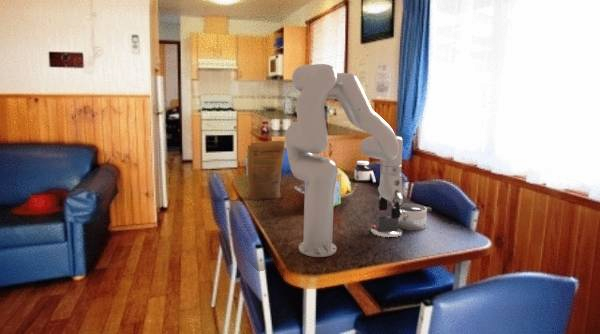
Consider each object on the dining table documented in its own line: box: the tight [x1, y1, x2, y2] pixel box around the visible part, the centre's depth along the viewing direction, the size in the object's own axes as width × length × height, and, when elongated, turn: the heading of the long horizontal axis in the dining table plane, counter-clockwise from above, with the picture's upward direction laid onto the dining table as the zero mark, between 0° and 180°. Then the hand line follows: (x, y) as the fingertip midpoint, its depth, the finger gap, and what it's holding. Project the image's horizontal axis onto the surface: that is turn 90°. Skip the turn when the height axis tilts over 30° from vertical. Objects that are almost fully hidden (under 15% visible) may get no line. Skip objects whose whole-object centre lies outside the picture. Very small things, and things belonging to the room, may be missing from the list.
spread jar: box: [353, 160, 377, 183], centre depth 237 cm, size 12×11×12 cm
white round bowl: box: [370, 215, 403, 239], centre depth 153 cm, size 12×12×6 cm
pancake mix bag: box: [246, 140, 286, 201], centre depth 194 cm, size 7×19×28 cm, turn 112°
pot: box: [389, 202, 433, 231], centre depth 162 cm, size 12×17×8 cm
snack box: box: [304, 172, 342, 207], centre depth 182 cm, size 21×6×15 cm, turn 141°
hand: (389, 213), depth 153 cm, fingers open, 9 cm apart
